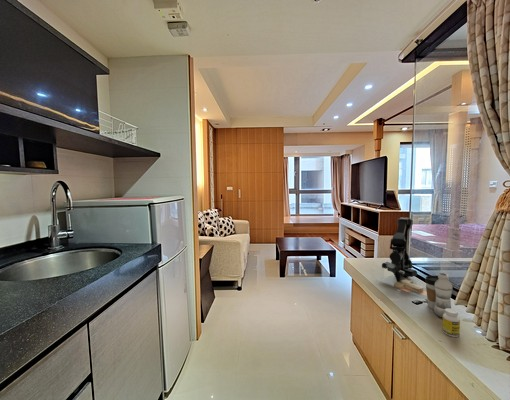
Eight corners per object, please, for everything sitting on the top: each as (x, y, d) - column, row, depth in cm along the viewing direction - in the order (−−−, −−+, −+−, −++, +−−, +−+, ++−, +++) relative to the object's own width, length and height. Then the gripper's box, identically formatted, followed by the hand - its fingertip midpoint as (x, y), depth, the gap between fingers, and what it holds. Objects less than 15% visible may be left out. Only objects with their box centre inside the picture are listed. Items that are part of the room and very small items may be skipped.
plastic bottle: (430, 312, 111) (430, 272, 110) (444, 312, 111) (445, 271, 110) (440, 320, 105) (441, 277, 103) (456, 320, 104) (456, 277, 103)
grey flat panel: (390, 276, 154) (390, 275, 154) (442, 294, 128) (442, 293, 128) (376, 281, 148) (376, 280, 148) (427, 300, 122) (427, 300, 122)
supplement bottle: (452, 338, 93) (453, 315, 92) (439, 330, 98) (439, 308, 97) (463, 336, 94) (463, 312, 93) (449, 328, 99) (449, 306, 98)
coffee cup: (450, 312, 111) (450, 281, 110) (430, 310, 113) (430, 280, 112) (440, 303, 119) (440, 274, 118) (421, 302, 121) (421, 274, 120)
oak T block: (406, 282, 144) (406, 278, 144) (427, 289, 133) (427, 286, 133) (393, 286, 139) (393, 283, 139) (414, 294, 128) (414, 291, 128)
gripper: (375, 256, 146) (376, 280, 147) (405, 264, 129) (405, 291, 130) (387, 253, 151) (387, 276, 152) (417, 261, 134) (417, 287, 135)
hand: (398, 282), depth 142 cm, fingers closed
